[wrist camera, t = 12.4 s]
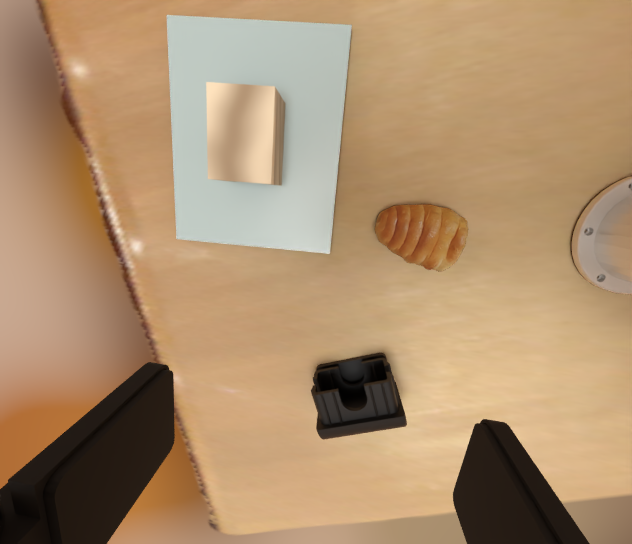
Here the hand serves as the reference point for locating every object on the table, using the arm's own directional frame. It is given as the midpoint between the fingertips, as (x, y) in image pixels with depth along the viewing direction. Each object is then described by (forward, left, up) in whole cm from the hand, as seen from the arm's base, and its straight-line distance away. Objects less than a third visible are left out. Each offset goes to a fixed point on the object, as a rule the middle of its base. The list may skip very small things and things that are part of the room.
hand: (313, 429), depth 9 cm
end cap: (-5, +17, -27) cm, 32 cm away
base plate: (+9, -11, -26) cm, 30 cm away
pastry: (-10, -3, -27) cm, 29 cm away
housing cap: (+9, -11, -25) cm, 29 cm away
